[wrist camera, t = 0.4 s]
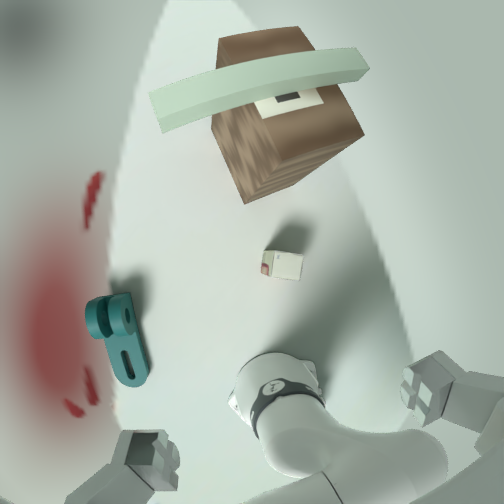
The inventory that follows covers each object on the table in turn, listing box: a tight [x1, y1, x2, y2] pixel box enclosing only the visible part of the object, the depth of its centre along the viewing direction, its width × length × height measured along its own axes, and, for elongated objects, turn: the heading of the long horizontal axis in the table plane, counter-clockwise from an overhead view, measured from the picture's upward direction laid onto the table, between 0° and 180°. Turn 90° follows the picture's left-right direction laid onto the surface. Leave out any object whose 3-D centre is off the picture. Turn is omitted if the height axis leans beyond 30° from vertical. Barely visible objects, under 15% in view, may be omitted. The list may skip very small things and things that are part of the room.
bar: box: [148, 48, 370, 133], centre depth 22 cm, size 3×22×3 cm, turn 114°
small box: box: [261, 250, 304, 281], centre depth 47 cm, size 5×4×8 cm
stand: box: [211, 26, 364, 204], centre depth 37 cm, size 16×10×26 cm, turn 24°
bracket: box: [85, 292, 149, 387], centre depth 43 cm, size 18×7×8 cm, turn 10°
